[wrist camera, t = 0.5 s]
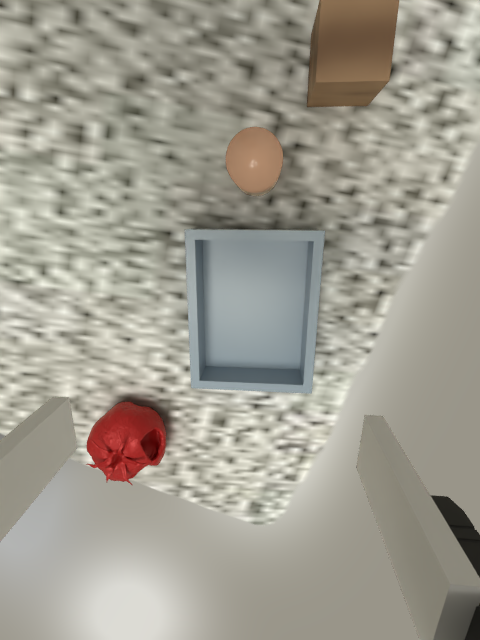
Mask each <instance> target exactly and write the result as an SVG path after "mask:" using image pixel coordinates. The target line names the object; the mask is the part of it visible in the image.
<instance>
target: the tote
mask: <svg viewBox="0 0 480 640" xmlns="http://www.w3.org/2000/svg"><path fill="white" fill-rule="evenodd" d="M324 236H325V231H323V230H290V229H185V248H186V272H187V296H188V320H189V344H190V369H191V388H202V389H224V390H246V391H268V392H290V393H312V382H313V370H314V358H315V345H316V333H317V321H318V309H319V297H320V285H321V273H322V260H323V248H324Z"/></svg>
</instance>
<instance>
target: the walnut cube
mask: <svg viewBox="0 0 480 640" xmlns="http://www.w3.org/2000/svg"><path fill="white" fill-rule="evenodd" d="M398 6H399V0H320V1H319V5H318V9H317V13H316V18H315V22H314V26H313V30H312V34H311V47H310V64H309V81H308V97H307V107H331V106H368V105H369V104H370V102H371V101H372V100H373V99H374V98H375V97H376V95H377V94H378V93H379V92H380V91H381V90H382V89H383V87H384V86H385V85H386V84H387V83H388V82H389V79H390V71H391V63H392V55H393V47H394V38H395V30H396V22H397V14H398Z"/></svg>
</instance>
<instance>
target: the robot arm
mask: <svg viewBox="0 0 480 640" xmlns="http://www.w3.org/2000/svg"><path fill="white" fill-rule="evenodd" d="M76 449H77V442H76V436H75V430H74V424H73V418H72V411H71V405H70V399H69V397H52V398H51V399H49V400H48V401H47V402H46V403H45V404H44V405H42V406H41V407H40V408H39V409H38V410H36V411H35V412H34V413H33V414H32V415H30V416H29V417H28V418H27V419H26V420H24V421H23V422H22V423H21V424H20V425H18V426H17V427H16V428H15V429H14V430H12V431H11V432H10V433H9V434H8V435H6V436H5V437H4V438H3V439H2V440H0V542H1V540H2V539H3V538H4V537H5V536H6V534H7V533H8V532H9V531H10V529H11V528H12V527H13V526H14V525H15V523H16V522H17V521H18V520H19V518H20V517H21V516H22V515H23V514H24V512H25V511H26V510H27V509H28V507H29V506H30V505H31V504H32V503H33V501H34V500H35V499H36V498H37V497H38V495H39V494H40V493H41V492H42V490H43V489H44V488H45V487H46V485H47V484H48V483H49V482H50V481H51V479H52V478H53V477H54V476H55V474H56V473H57V472H58V471H59V470H60V468H61V467H62V466H63V465H64V464H65V462H66V461H67V460H68V459H69V458H70V456H71V455H72V454H73V453H74V451H75V450H76ZM356 468H357V471H358V473H359V476H360V479H361V482H362V484H363V487H364V490H365V493H366V495H367V498H368V501H369V503H370V506H371V509H372V512H373V514H374V517H375V520H376V523H377V525H378V528H379V531H380V533H381V536H382V539H383V542H384V544H385V547H386V550H387V553H388V555H389V558H390V561H391V564H392V566H393V569H394V572H395V575H396V577H397V580H398V583H399V585H400V588H401V591H402V594H403V596H404V599H405V602H406V604H407V607H408V610H409V613H410V616H411V618H412V621H413V624H414V627H415V629H416V632H417V635H418V637H419V640H480V535H479V533H478V532H477V530H475V529H474V526H473V524H472V523H471V521H470V520H469V518H468V517H467V515H466V514H465V512H464V511H463V510H462V509H461V508H460V507H458V506H457V505H456V504H455V503H454V502H453V501H452V500H451V499H450V498H448V497H444V496H431V495H430V494H429V492H428V491H427V489H426V487H425V486H424V484H423V482H422V480H421V479H420V477H419V475H418V474H417V472H416V470H415V469H414V467H413V466H412V464H411V462H410V460H409V459H408V457H407V455H406V454H405V452H404V450H403V449H402V447H401V445H400V444H399V442H398V440H397V439H396V437H395V436H394V434H393V432H392V430H391V428H390V427H389V425H388V423H387V422H386V420H385V419H384V417H383V416H374V415H365V416H364V422H363V429H362V435H361V441H360V447H359V454H358V461H357V466H356Z"/></svg>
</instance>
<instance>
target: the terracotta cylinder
mask: <svg viewBox="0 0 480 640" xmlns="http://www.w3.org/2000/svg"><path fill="white" fill-rule="evenodd" d="M282 164H283V152H282V148H281V145H280V143H279V141H278V139H277V138H276V137H275V136H274V134H273V133H271V132H270V131H268V130H266V129H264V128H260V127H250V128H246V129H244V130H242V131H240V132H239V133H237V134H236V135H235V136H234V138H233V139H232V140H231V142H230V144H229V146H228V148H227V152H226V166H227V170H228V173H229V175H230V177H231V178H232V179H233V181H234V182H235V183H236V185H237V186H238V187H239V189H240V190H241V191H243V192H244V193H246V194H248V195H250V196H261V195H264V194H266V193H268V192H269V191H271V190H272V189H273V188H274V186H275V185H276V183H277V181H278V178H279V175H280V171H281V168H282Z"/></svg>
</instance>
